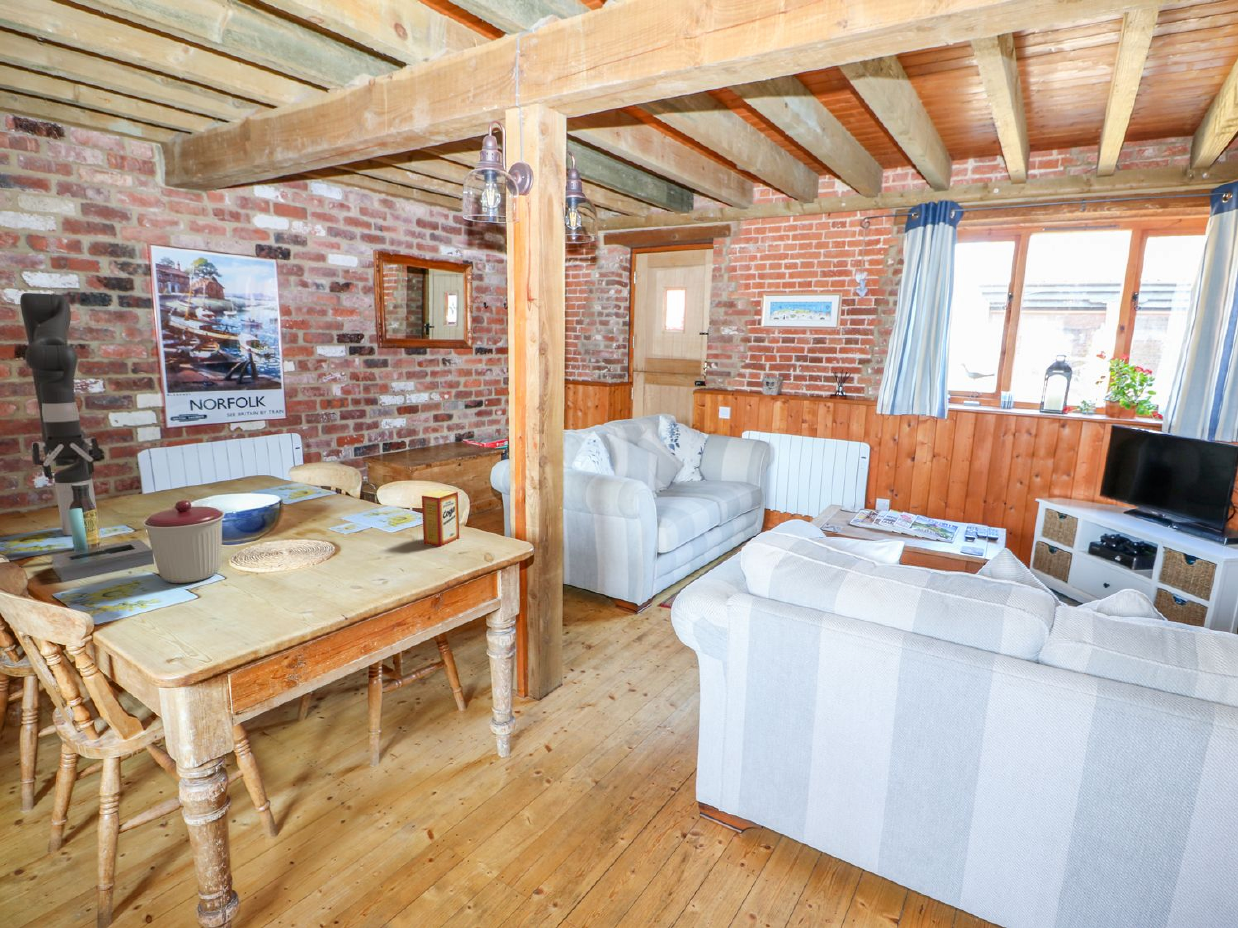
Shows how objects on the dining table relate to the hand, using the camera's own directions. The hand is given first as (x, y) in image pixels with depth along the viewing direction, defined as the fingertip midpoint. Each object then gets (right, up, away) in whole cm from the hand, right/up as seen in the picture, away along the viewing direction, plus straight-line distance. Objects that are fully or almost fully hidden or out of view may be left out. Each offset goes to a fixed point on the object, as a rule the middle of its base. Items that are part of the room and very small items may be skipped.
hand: (70, 476), depth 180 cm
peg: (0, -24, +5) cm, 24 cm away
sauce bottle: (-7, -22, +14) cm, 27 cm away
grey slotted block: (+10, -25, 0) cm, 27 cm away
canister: (+39, -27, -7) cm, 48 cm away
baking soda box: (+97, -21, +27) cm, 103 cm away
